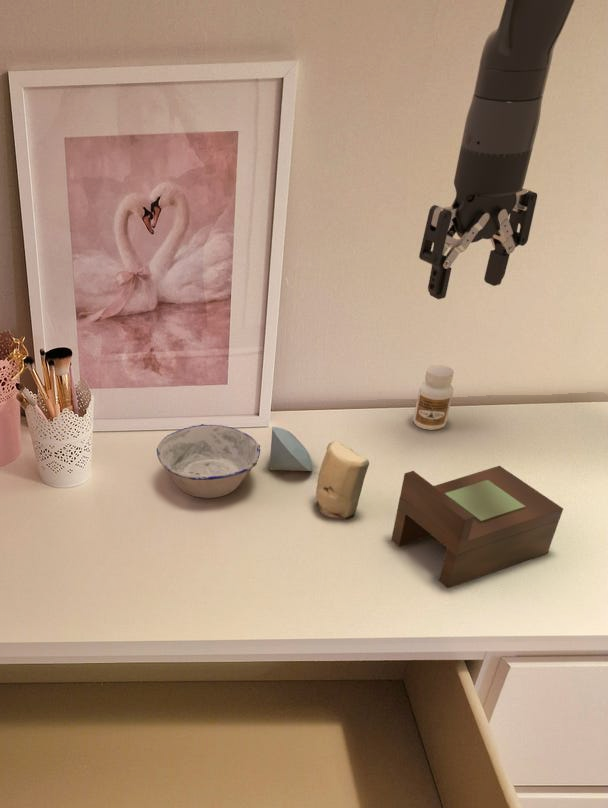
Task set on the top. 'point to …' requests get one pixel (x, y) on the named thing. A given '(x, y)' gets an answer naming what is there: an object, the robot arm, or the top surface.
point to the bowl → (208, 459)
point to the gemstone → (288, 452)
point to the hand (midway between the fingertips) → (464, 290)
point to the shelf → (476, 521)
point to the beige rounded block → (340, 481)
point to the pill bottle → (434, 398)
